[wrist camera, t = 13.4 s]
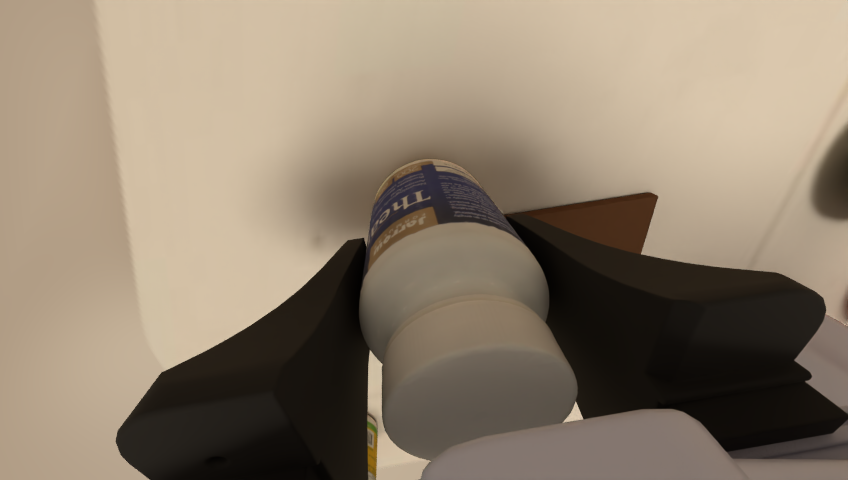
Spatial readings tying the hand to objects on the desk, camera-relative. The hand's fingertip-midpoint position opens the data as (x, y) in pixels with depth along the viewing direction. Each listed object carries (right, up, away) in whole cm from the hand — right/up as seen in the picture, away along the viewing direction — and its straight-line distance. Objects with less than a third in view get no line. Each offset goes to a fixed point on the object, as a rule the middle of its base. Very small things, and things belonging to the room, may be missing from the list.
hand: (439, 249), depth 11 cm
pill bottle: (0, +2, +3) cm, 4 cm away
